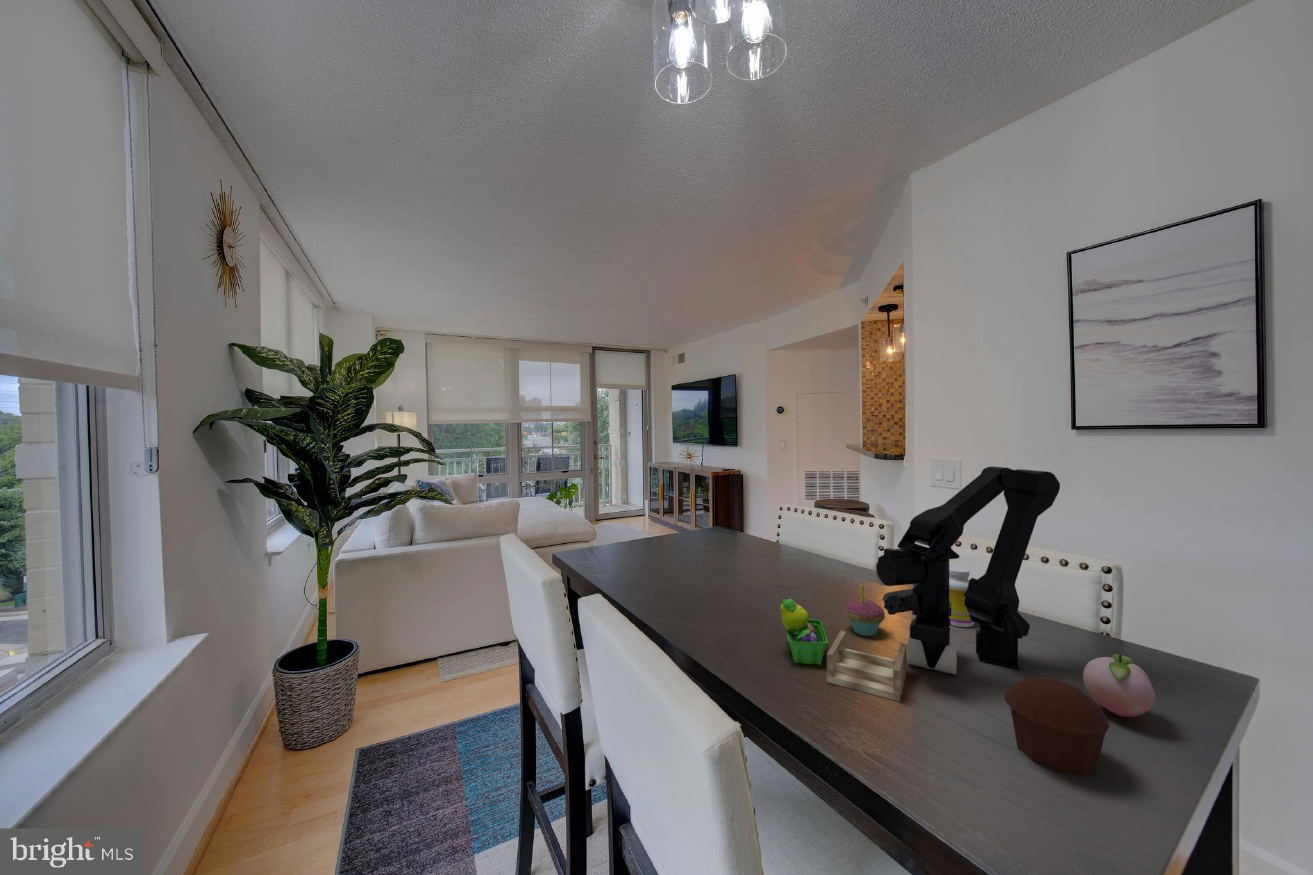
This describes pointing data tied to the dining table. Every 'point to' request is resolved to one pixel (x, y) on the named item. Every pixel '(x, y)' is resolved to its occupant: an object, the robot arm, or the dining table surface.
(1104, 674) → the decorative fruit
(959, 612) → the supplement bottle
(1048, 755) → the muffin
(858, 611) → the cupcake
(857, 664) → the roll cradle
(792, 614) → the fruit basket
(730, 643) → the dining table surface
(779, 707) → the dining table surface
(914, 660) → the paper roll
